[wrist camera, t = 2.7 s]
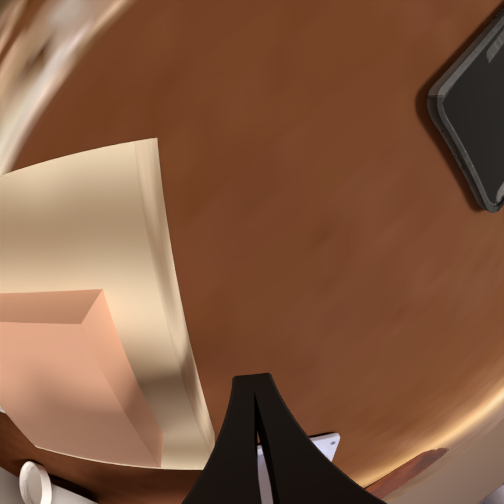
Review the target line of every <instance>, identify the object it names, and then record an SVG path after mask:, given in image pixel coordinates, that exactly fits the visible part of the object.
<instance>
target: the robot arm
mask: <svg viewBox="0 0 504 504" xmlns="http://www.w3.org/2000/svg"><path fill="white" fill-rule="evenodd" d="M257 431H258V435H259V439H260V443H261V445H258V441H257ZM339 440H340V436H339V434H338V433H333V434H328V435H323V436H318V437H313V438H309V437H308V436H307V435H306V433H305V432H304V431H303V429H302V428H301V427H300V425H299V424H298V423H297V421H296V420H295V418H294V417H293V415H292V414H291V412H290V411H289V409H288V407H287V406H286V404H285V402H284V401H283V399H282V397H281V395H280V393H279V391H278V389H277V387H276V385H275V383H274V380H273V378H272V375H271V374H270V373H262V374H253V375H242V376H235V377H234V378H232V390H231V396H230V400H229V405H228V409H227V412H226V415H225V419H224V422H223V425H222V428H221V431H220V433H219V436H218V439H217V441H216V444H215V446H214V448H213V451H212V453H211V455H210V457H209V459H208V461H207V463H206V465H205V467H204V469H203V471H202V473H201V474H200V476H199V478H198V480H197V481H196V483H195V485H194V486H193V488H192V489H191V491H190V492H189V494H188V495H187V497H186V498H185V499H184V501H183V502H182V504H387V503H386V502H384V501H382V500H381V499H379V498H377V497H376V496H374V495H373V494H371V493H369V492H368V491H366V490H365V489H364V488H362V487H361V486H359V485H358V484H357V483H355V482H354V481H353V480H352V479H350V478H349V477H348V476H347V475H346V474H344V473H343V472H342V471H341V470H340V469H339V468H337V467H336V466H335V465H334V464H333V463H332V462H331V461H332V459H333V456H334V453H335V451H336V448H337V445H338V442H339ZM476 504H504V483H503V484H502V485H501V486H499V487H498V488H497V489H495V490H494V491H493V492H491V493H490V494H489V495H487V496H486V497H485V498H484V499H482V500H481V501H479V502H478V503H476Z"/></svg>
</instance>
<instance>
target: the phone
mask: <svg viewBox="0 0 504 504" xmlns="http://www.w3.org/2000/svg"><path fill="white" fill-rule="evenodd" d="M427 108H428V112H429V115H430V117H431V119H432V121H433V122H434V124H435V126H436V127H437V129H438V130H439V132H440V134H441V135H442V137H443V138H444V140H445V142H446V144H447V145H448V147H449V149H450V150H451V152H452V154H453V156H454V157H455V159H456V161H457V163H458V165H459V167H460V169H461V170H462V172H463V174H464V176H465V178H466V180H467V182H468V184H469V186H470V188H471V191H472V193H473V195H474V197H475V199H476V201H477V203H478V205H479V206H480V207H481V208H483V209H485V210H487V211H489V212H491V213H495V212H497V211H499V210H500V209H501V207H502V206H503V205H504V7H503V8H502V9H501V10H500V12H499V13H497V15H496V16H495V18H494V19H493V20H492V21H491V22H490V23H489V25H488V26H487V27H486V28H485V29H484V30H483V31H482V32H481V33H480V35H479V36H478V37H477V38H476V39H475V40H474V41H473V42H472V43H471V45H470V46H469V47H468V48H467V49H466V50H465V51H464V52H463V53H462V55H461V56H460V57H459V58H458V59H457V60H456V61H455V62H454V63H453V64H452V65H451V67H450V68H449V69H448V70H447V71H446V72H445V73H444V74H443V75H442V76H441V77H440V78H439V80H438V81H437V82H436V83H435V84H434V85H433V86H432V87H431V89H430V90H429V92H428V96H427ZM441 130H442V131H443V132H442V131H441ZM457 154H458V156H459V158H460V160H461V161H462V163H463V165H464V167H465V168H464V167H463V166H462V164H461V162H460V160H459V158H458V156H457Z"/></svg>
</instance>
